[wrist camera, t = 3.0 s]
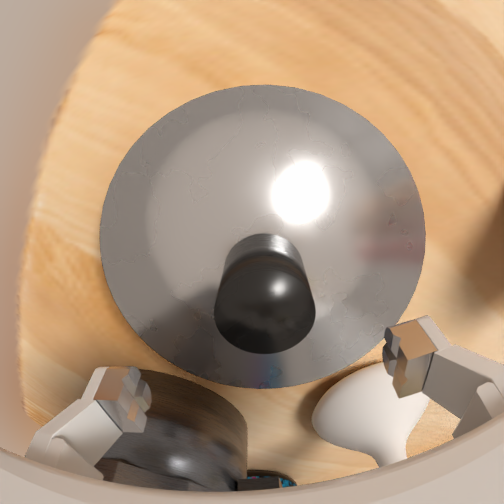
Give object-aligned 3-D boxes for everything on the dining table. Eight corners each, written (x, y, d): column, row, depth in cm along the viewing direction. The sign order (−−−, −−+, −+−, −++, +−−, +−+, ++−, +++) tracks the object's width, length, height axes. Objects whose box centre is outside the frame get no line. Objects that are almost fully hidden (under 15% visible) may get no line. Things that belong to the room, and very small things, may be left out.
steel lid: (404, 329, 20) (440, 393, 14) (179, 374, 22) (160, 442, 16) (380, 70, 13) (444, 47, 7) (84, 150, 15) (9, 169, 9)
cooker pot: (287, 455, 28) (293, 538, 18) (112, 454, 30) (93, 519, 20) (262, 357, 21) (267, 495, 11) (38, 366, 23) (-9, 444, 13)
